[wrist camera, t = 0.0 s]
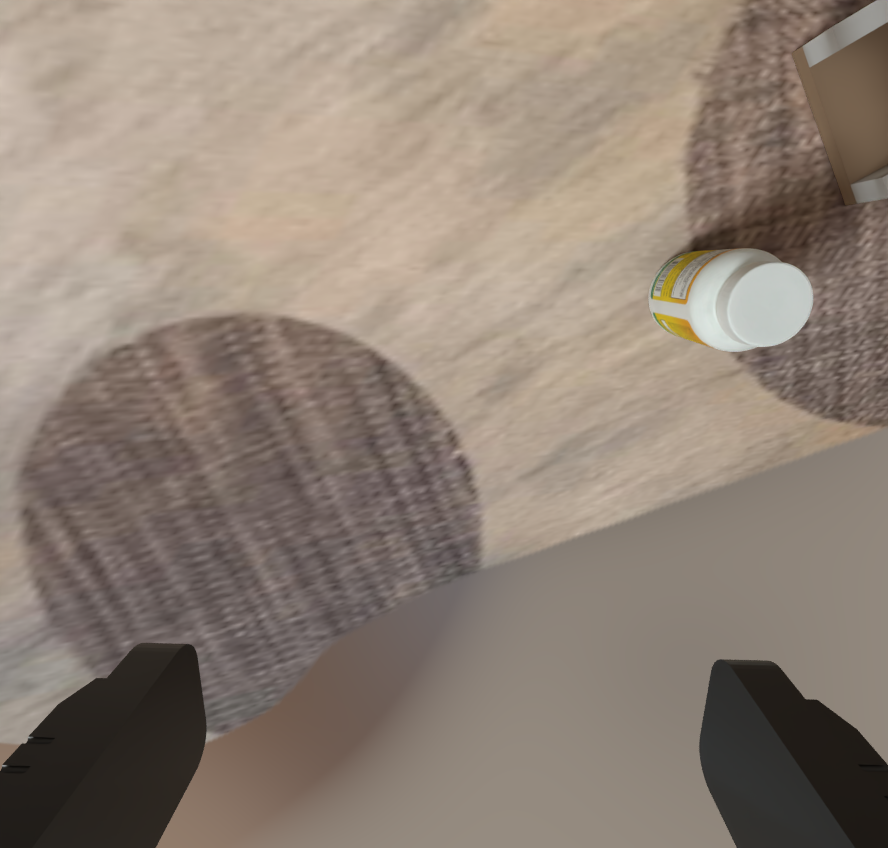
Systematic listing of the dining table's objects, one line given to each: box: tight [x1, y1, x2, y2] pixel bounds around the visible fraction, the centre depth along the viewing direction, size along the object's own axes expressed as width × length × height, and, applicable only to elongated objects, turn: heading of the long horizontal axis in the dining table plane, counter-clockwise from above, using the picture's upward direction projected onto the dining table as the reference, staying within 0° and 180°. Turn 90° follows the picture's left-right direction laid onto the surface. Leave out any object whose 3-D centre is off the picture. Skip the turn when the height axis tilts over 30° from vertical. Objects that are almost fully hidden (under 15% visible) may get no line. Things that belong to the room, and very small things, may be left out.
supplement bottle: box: [649, 248, 813, 352], centre depth 30 cm, size 5×5×10 cm
